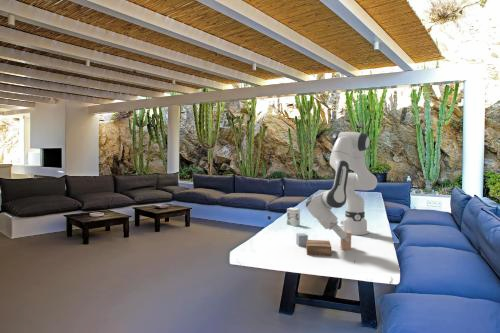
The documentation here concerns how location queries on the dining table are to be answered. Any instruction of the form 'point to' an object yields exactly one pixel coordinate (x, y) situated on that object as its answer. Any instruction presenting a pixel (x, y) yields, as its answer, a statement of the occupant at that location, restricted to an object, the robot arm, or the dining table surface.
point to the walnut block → (318, 247)
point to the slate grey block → (301, 239)
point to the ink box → (293, 216)
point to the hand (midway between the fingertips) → (347, 239)
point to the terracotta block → (344, 243)
